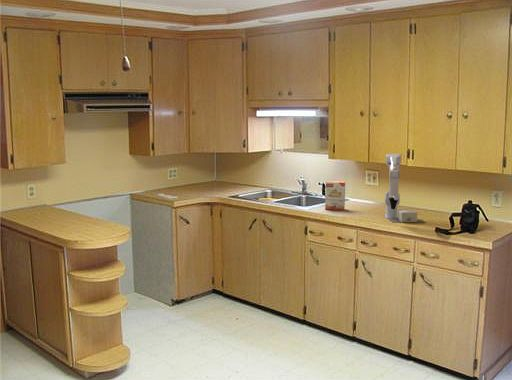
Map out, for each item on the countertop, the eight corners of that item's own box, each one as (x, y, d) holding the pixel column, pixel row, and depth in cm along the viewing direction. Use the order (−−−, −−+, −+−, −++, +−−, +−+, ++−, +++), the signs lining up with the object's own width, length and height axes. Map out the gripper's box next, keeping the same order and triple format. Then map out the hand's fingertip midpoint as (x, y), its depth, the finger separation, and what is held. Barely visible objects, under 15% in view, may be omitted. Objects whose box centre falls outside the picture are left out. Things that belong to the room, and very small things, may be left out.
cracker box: (325, 209, 409) (325, 181, 405) (325, 208, 414) (326, 180, 411) (344, 210, 405) (344, 182, 402) (344, 209, 411) (345, 181, 408)
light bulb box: (417, 222, 364) (413, 218, 375) (417, 211, 363) (413, 209, 374) (401, 222, 364) (397, 219, 375) (401, 212, 363) (397, 209, 374)
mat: (389, 219, 373) (389, 219, 373) (422, 219, 373) (422, 219, 373) (392, 222, 365) (392, 221, 365) (425, 222, 365) (425, 221, 365)
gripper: (402, 190, 349) (402, 211, 351) (397, 186, 364) (396, 207, 366) (391, 190, 349) (390, 211, 352) (386, 186, 364) (385, 207, 366)
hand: (393, 209), depth 359 cm, fingers closed
